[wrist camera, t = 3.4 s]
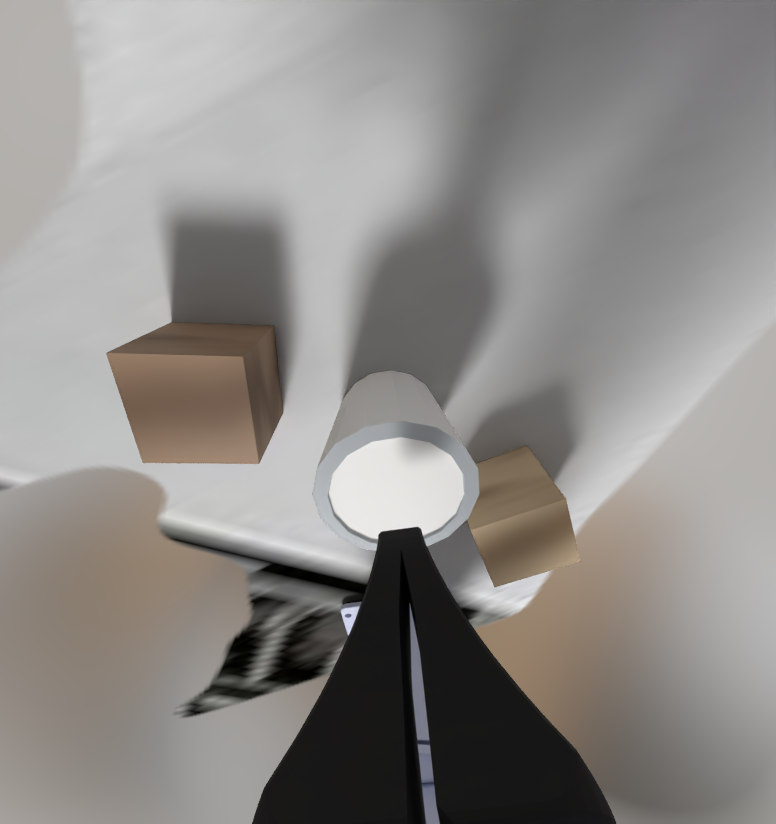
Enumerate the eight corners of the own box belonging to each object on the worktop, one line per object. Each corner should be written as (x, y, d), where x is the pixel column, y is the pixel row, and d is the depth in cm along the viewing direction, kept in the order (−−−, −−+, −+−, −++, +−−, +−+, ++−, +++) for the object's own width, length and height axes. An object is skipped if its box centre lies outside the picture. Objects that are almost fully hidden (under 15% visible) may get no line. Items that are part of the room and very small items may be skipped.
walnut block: (283, 412, 20) (259, 463, 16) (193, 410, 20) (142, 462, 15) (274, 325, 18) (242, 356, 13) (172, 321, 18) (106, 352, 13)
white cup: (356, 339, 18) (350, 395, 12) (469, 387, 20) (514, 458, 14) (312, 442, 21) (289, 530, 15) (414, 477, 23) (432, 570, 16)
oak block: (541, 500, 24) (580, 561, 20) (472, 523, 25) (494, 587, 20) (526, 444, 22) (565, 498, 18) (450, 471, 23) (470, 530, 18)
